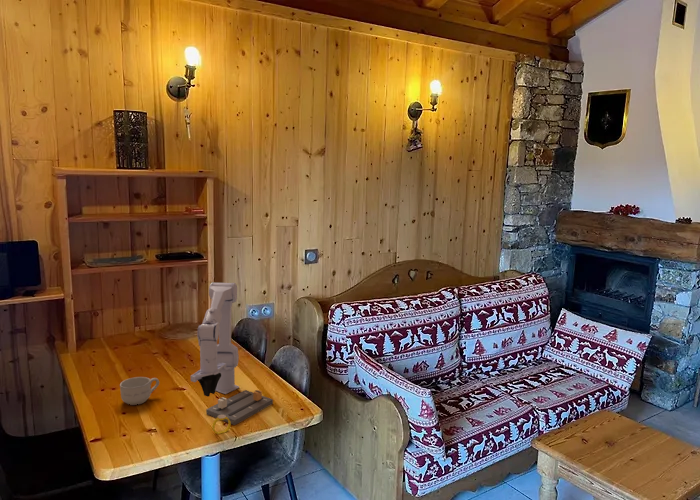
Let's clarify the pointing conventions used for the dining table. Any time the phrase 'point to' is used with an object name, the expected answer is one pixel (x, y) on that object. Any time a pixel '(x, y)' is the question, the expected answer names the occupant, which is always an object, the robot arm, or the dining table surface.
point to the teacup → (137, 389)
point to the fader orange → (257, 395)
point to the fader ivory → (222, 403)
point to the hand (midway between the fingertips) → (209, 394)
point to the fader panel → (240, 407)
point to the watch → (220, 417)
